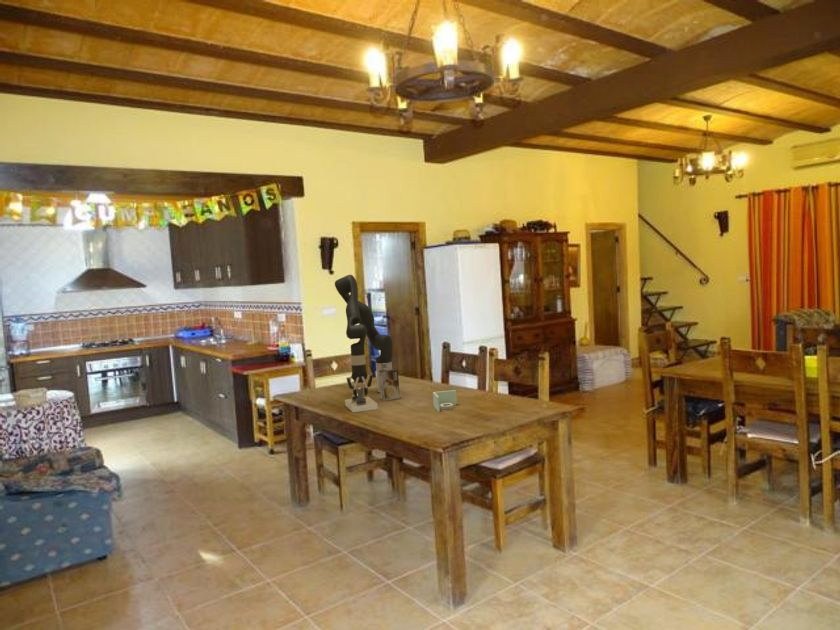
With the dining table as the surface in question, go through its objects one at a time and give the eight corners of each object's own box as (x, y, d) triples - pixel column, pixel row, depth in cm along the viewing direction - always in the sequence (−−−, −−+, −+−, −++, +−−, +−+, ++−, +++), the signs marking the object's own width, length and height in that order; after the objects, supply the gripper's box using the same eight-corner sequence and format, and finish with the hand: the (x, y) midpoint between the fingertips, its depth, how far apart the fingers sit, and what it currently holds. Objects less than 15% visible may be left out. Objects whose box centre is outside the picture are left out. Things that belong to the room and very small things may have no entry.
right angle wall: (438, 412, 295) (437, 397, 294) (433, 406, 307) (432, 392, 306) (461, 409, 297) (461, 394, 296) (456, 404, 308) (455, 390, 308)
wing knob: (357, 400, 316) (356, 385, 316) (366, 399, 317) (365, 384, 316) (355, 403, 309) (354, 388, 308) (365, 403, 309) (364, 387, 308)
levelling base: (368, 402, 324) (368, 392, 324) (377, 409, 307) (376, 398, 307) (345, 405, 320) (344, 395, 320) (352, 412, 303) (352, 401, 303)
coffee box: (396, 396, 334) (394, 368, 333) (400, 398, 328) (398, 369, 327) (380, 398, 331) (378, 370, 329) (384, 401, 325) (382, 371, 323)
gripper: (370, 360, 317) (372, 392, 318) (343, 363, 312) (345, 396, 313) (373, 362, 310) (375, 395, 311) (346, 365, 305) (348, 398, 306)
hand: (360, 395), depth 312 cm, fingers open, 4 cm apart
